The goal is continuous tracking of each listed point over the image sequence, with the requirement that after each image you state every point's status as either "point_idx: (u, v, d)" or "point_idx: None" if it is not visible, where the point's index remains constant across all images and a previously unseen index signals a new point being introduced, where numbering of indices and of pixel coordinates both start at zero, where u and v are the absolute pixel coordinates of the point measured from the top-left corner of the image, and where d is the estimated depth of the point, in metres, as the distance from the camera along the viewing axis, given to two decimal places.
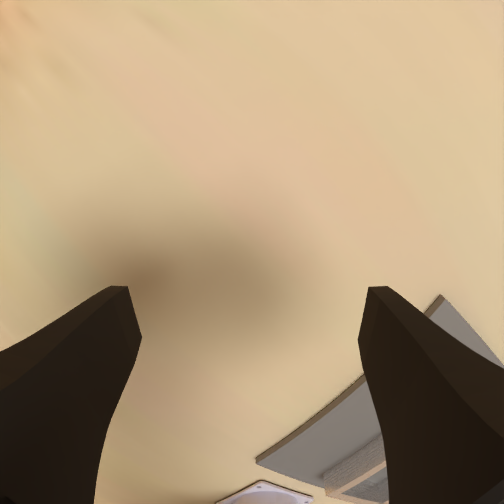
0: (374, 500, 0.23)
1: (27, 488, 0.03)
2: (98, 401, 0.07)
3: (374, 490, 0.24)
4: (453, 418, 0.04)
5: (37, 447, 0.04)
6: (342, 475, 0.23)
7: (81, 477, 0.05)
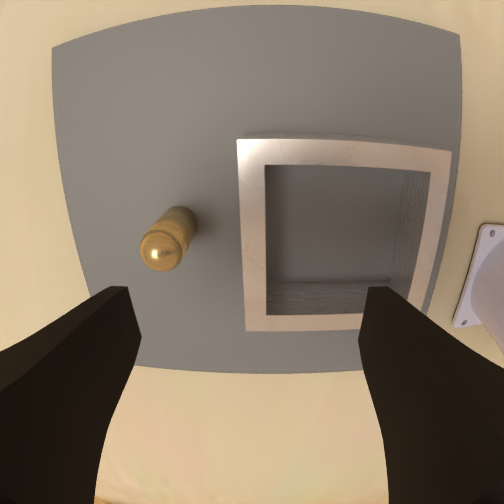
0: (424, 203, 0.12)
1: (27, 488, 0.03)
2: (98, 401, 0.07)
3: (412, 184, 0.13)
4: (453, 418, 0.04)
5: (37, 447, 0.04)
6: None
7: (81, 477, 0.05)
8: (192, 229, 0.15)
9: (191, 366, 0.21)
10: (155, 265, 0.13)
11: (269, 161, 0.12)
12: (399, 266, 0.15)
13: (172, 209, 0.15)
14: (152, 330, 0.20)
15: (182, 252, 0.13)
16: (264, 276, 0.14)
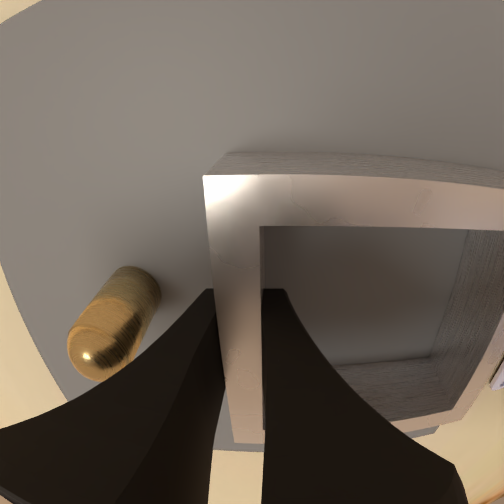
0: None
1: None
2: (210, 417, 0.07)
3: (489, 240, 0.08)
4: None
5: (179, 487, 0.04)
6: None
7: None
8: (149, 307, 0.09)
9: None
10: (89, 378, 0.07)
11: (269, 219, 0.06)
12: (451, 348, 0.09)
13: (120, 274, 0.10)
14: None
15: (129, 357, 0.08)
16: (259, 391, 0.08)
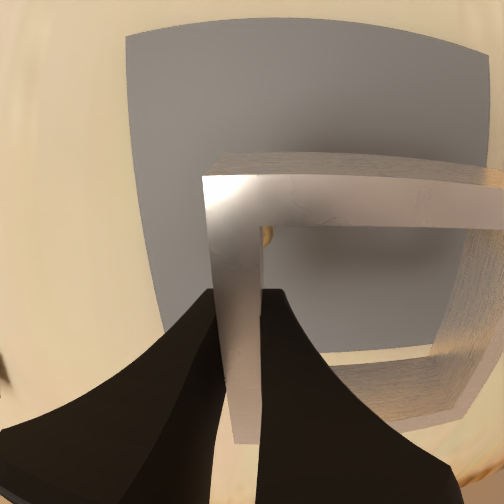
0: None
1: None
2: (211, 417, 0.07)
3: (488, 239, 0.08)
4: None
5: (182, 487, 0.04)
6: None
7: None
8: None
9: None
10: None
11: (269, 219, 0.06)
12: (451, 348, 0.10)
13: None
14: None
15: (273, 233, 0.15)
16: (260, 392, 0.08)
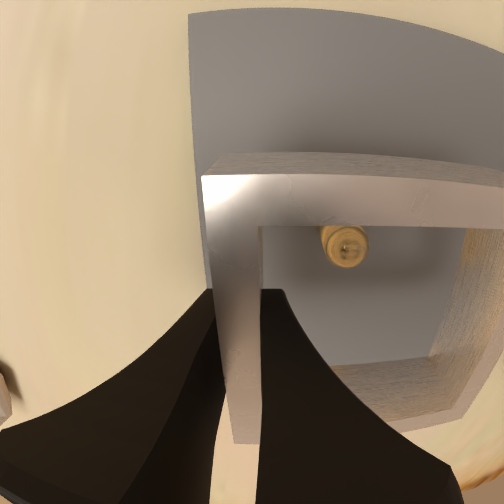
0: None
1: None
2: (211, 417, 0.07)
3: (487, 238, 0.08)
4: None
5: (182, 487, 0.04)
6: None
7: None
8: None
9: None
10: (349, 261, 0.13)
11: (268, 219, 0.06)
12: (450, 347, 0.10)
13: None
14: None
15: (368, 248, 0.13)
16: (259, 392, 0.08)
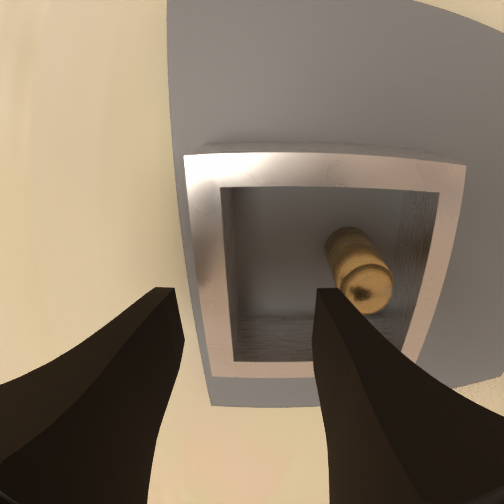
0: (430, 231, 0.10)
1: None
2: (149, 410, 0.07)
3: (415, 205, 0.11)
4: (369, 435, 0.04)
5: (99, 469, 0.04)
6: None
7: (135, 493, 0.05)
8: None
9: (311, 402, 0.18)
10: (369, 309, 0.10)
11: (226, 182, 0.09)
12: (396, 301, 0.13)
13: (350, 231, 0.12)
14: None
15: None
16: (228, 320, 0.11)
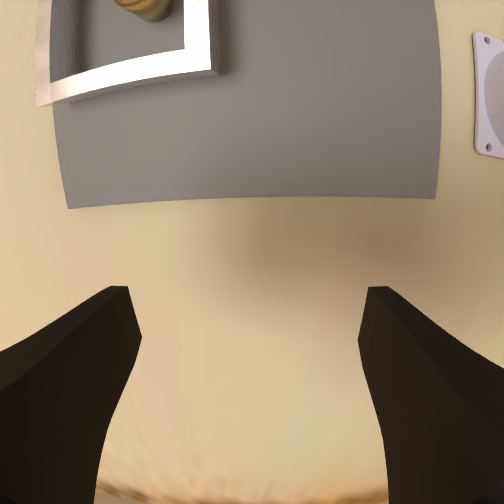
0: None
1: (27, 488, 0.03)
2: (98, 401, 0.07)
3: None
4: (453, 418, 0.04)
5: (37, 447, 0.04)
6: (164, 78, 0.12)
7: (81, 477, 0.05)
8: None
9: (155, 192, 0.16)
10: None
11: None
12: None
13: None
14: (112, 141, 0.15)
15: None
16: (48, 45, 0.10)
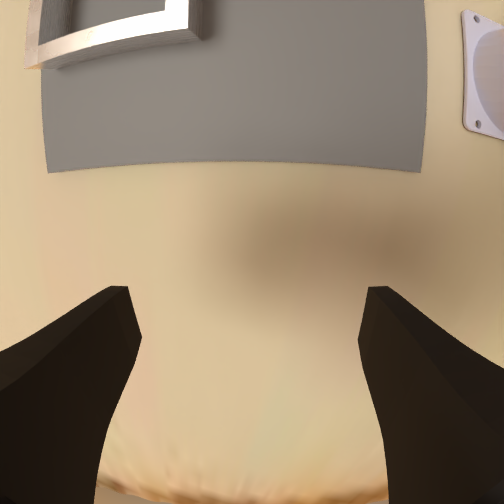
0: None
1: (27, 488, 0.03)
2: (98, 401, 0.07)
3: None
4: (453, 418, 0.04)
5: (37, 447, 0.04)
6: (145, 40, 0.11)
7: (81, 477, 0.05)
8: None
9: (132, 155, 0.16)
10: None
11: None
12: None
13: None
14: (94, 104, 0.14)
15: None
16: (40, 11, 0.09)
